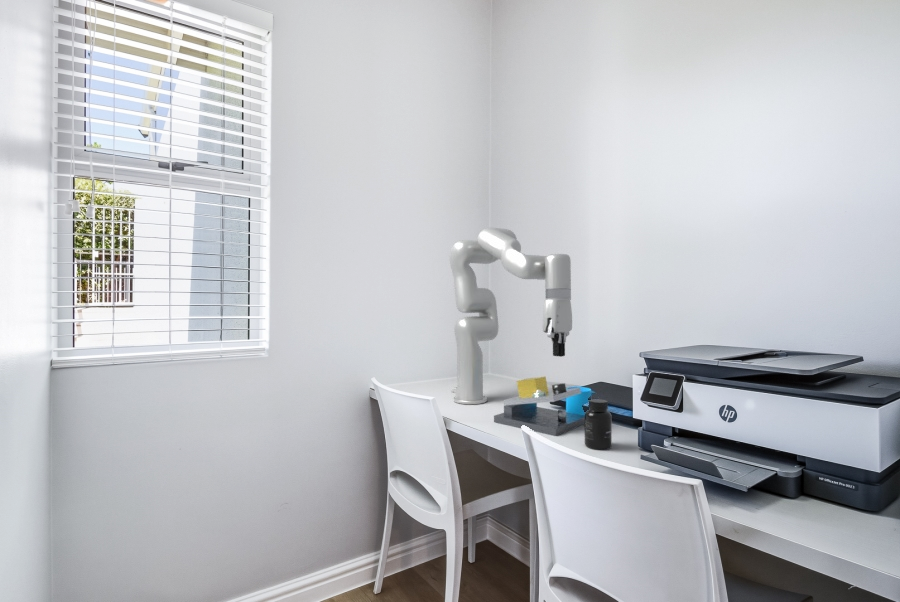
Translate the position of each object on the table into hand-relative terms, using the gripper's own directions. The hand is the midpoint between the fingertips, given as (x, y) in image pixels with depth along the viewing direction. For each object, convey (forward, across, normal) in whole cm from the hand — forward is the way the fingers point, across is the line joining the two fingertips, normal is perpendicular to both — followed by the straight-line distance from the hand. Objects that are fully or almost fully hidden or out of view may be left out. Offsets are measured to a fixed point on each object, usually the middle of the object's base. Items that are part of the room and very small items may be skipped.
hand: (558, 355), depth 145 cm
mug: (+22, -20, -3) cm, 30 cm away
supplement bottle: (+22, +10, +17) cm, 29 cm away
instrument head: (+14, 0, -6) cm, 15 cm away
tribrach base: (+21, 0, -7) cm, 22 cm away
